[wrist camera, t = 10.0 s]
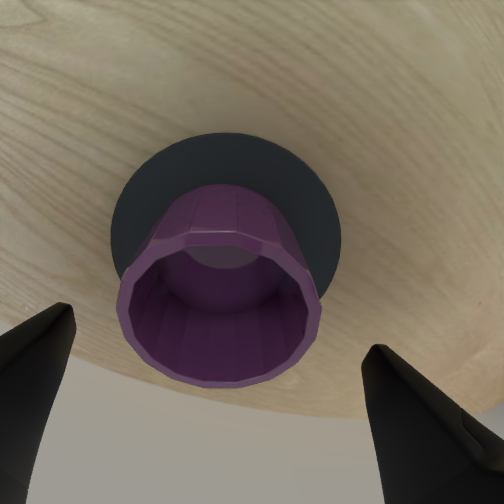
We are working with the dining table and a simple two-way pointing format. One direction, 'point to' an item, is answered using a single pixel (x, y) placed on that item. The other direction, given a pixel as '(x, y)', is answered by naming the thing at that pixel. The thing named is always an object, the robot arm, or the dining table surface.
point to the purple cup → (219, 291)
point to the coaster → (233, 173)
